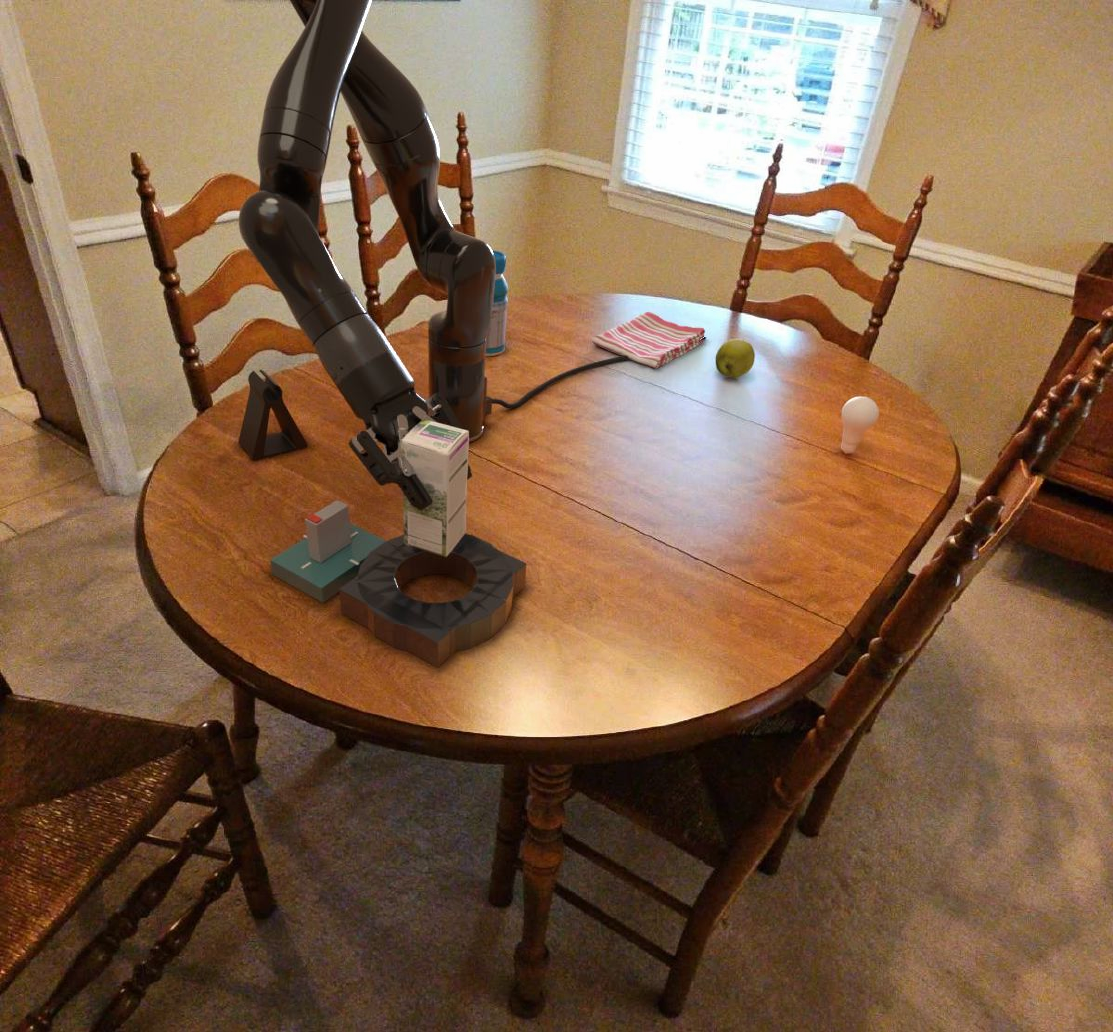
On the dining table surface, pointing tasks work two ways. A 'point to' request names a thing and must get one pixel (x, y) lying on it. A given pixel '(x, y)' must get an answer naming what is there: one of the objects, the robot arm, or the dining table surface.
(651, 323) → the dish towel
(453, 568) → the dark grey ring block
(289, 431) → the phone stand
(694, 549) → the dining table surface
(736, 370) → the apple
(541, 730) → the dining table surface
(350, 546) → the block
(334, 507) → the tap handle
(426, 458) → the syrup box
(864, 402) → the lightbulb
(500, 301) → the beverage bottle
